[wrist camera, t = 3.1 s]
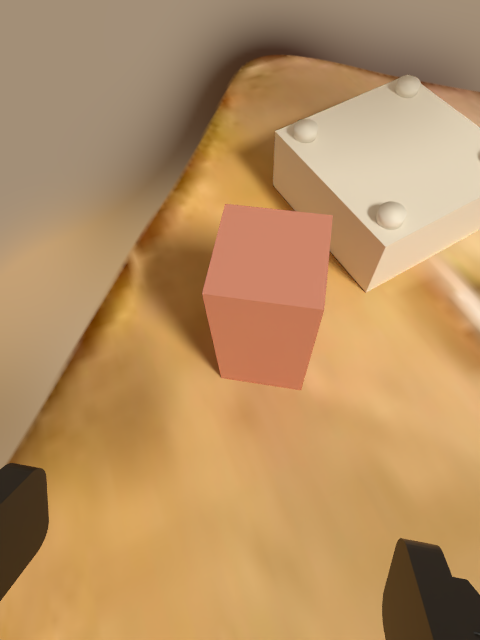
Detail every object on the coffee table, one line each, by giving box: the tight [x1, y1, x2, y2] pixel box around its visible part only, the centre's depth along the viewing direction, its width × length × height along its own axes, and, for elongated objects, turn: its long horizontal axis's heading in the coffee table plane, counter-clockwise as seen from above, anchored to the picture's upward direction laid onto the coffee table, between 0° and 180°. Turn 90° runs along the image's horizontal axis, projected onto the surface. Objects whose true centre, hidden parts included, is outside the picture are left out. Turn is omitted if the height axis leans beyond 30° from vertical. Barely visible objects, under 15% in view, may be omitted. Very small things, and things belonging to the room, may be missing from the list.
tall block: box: [202, 204, 333, 390], centre depth 22 cm, size 5×5×10 cm
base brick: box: [273, 75, 480, 292], centre depth 30 cm, size 12×12×6 cm
